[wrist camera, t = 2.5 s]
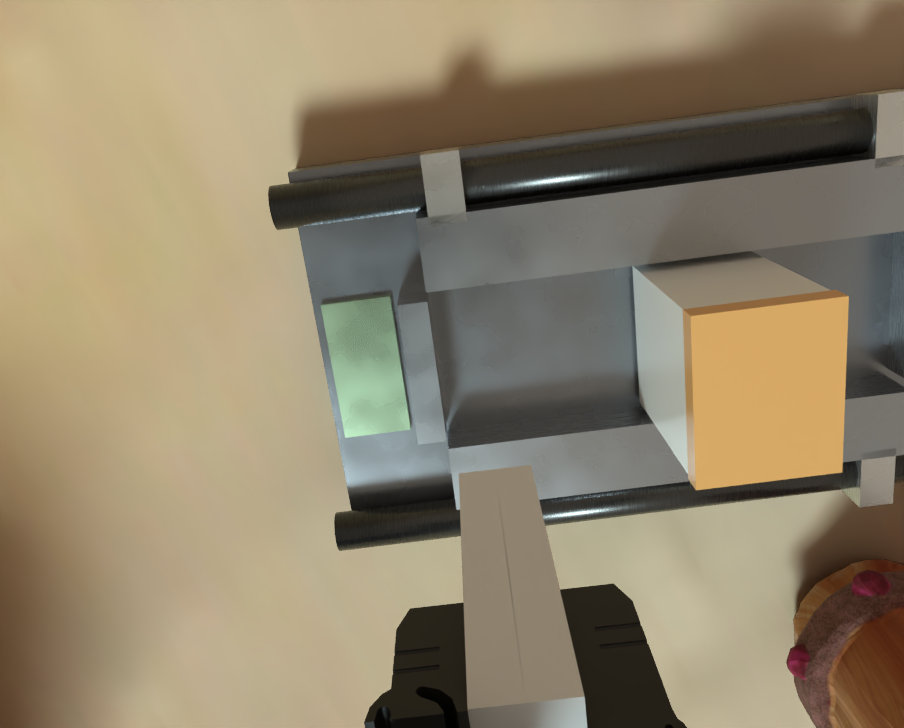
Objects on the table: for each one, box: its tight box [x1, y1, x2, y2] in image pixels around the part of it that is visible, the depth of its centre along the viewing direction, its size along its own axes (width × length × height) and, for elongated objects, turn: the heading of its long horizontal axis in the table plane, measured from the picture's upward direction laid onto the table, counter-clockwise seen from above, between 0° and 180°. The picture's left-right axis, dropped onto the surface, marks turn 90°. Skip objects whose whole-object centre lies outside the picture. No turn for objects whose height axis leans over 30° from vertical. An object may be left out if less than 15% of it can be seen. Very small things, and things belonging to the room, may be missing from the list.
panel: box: [268, 88, 904, 551], centre depth 28 cm, size 25×14×3 cm, turn 97°
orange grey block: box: [632, 251, 849, 490], centre depth 24 cm, size 4×5×7 cm
